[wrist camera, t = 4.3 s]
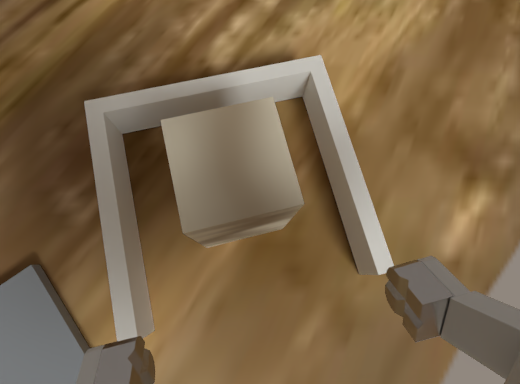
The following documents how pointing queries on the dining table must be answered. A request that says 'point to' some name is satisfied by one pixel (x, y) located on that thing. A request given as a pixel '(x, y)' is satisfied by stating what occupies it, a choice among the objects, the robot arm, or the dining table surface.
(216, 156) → the birch block
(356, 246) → the white u-shaped frame
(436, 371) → the dining table surface
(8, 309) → the grey tile
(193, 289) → the dining table surface
